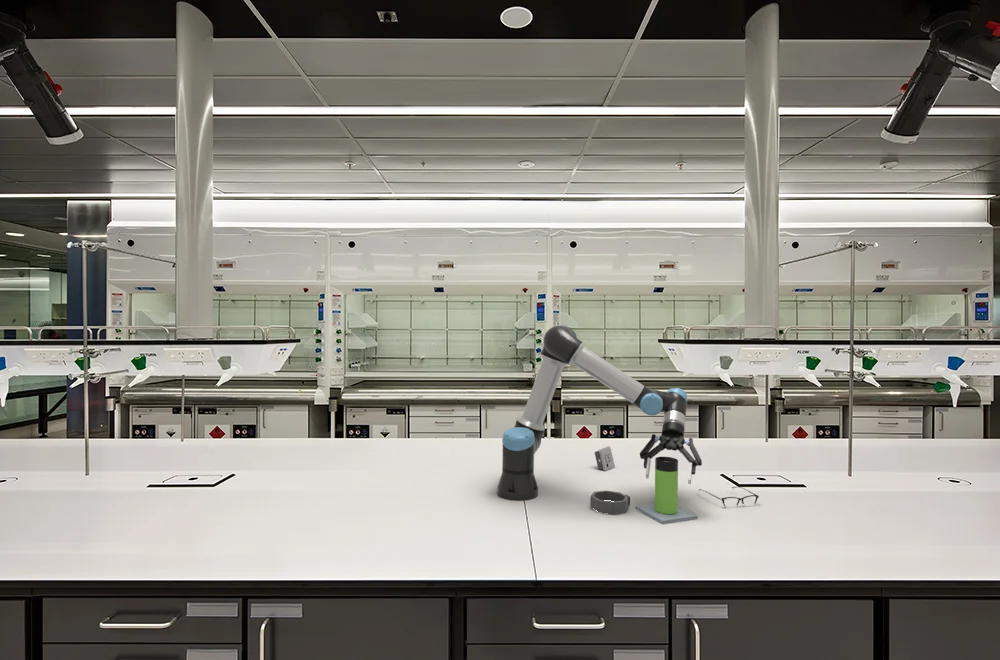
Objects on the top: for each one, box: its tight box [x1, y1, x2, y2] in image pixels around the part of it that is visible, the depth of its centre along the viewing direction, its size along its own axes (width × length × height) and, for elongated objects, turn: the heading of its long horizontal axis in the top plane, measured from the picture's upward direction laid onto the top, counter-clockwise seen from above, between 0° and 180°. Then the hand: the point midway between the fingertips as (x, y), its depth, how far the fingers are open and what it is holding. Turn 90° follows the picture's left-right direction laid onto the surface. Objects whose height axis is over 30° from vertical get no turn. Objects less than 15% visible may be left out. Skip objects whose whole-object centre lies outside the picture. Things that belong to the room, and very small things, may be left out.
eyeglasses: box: [698, 486, 760, 507], centre depth 190 cm, size 16×16×4 cm
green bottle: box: [654, 456, 679, 514], centre depth 174 cm, size 7×7×17 cm
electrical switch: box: [594, 446, 616, 472], centre depth 230 cm, size 9×5×9 cm, turn 141°
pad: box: [635, 503, 699, 525], centre depth 174 cm, size 14×14×1 cm
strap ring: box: [589, 490, 631, 515], centre depth 179 cm, size 14×12×4 cm
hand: (667, 479), depth 174 cm, fingers open, 13 cm apart
